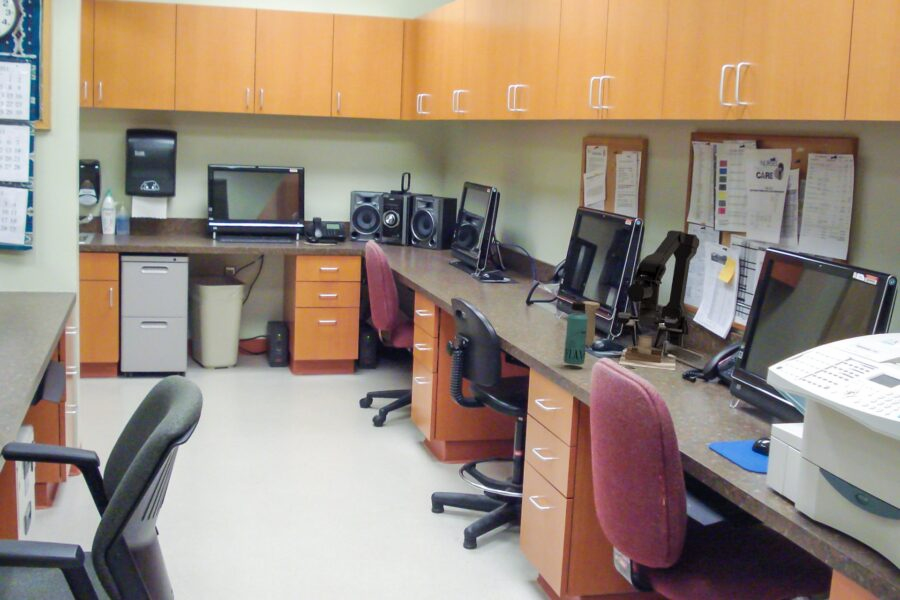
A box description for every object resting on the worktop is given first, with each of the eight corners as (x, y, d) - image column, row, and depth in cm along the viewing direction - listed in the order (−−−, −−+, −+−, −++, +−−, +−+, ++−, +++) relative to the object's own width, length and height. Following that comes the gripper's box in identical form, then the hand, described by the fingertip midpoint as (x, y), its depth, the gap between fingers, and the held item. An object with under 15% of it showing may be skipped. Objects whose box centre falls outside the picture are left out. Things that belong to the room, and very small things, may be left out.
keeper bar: (661, 354, 317) (662, 340, 316) (666, 354, 317) (667, 340, 317) (699, 369, 298) (700, 355, 297) (704, 369, 299) (705, 355, 298)
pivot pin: (637, 354, 315) (639, 335, 314) (651, 356, 314) (652, 336, 313) (636, 357, 311) (638, 337, 310) (650, 359, 310) (652, 339, 309)
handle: (588, 344, 332) (592, 301, 329) (598, 348, 326) (602, 304, 323) (576, 345, 330) (580, 301, 327) (586, 349, 324) (589, 304, 321)
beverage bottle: (560, 367, 295) (565, 302, 292) (566, 363, 301) (571, 299, 298) (581, 370, 293) (586, 305, 290) (586, 366, 299) (592, 302, 296)
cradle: (623, 352, 322) (623, 343, 322) (675, 358, 318) (676, 349, 318) (618, 366, 301) (619, 357, 300) (674, 373, 297) (675, 363, 297)
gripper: (617, 299, 304) (613, 348, 307) (678, 305, 300) (674, 355, 302) (620, 294, 315) (616, 342, 317) (679, 300, 310) (674, 348, 313)
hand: (644, 346), depth 312 cm, fingers open, 6 cm apart
